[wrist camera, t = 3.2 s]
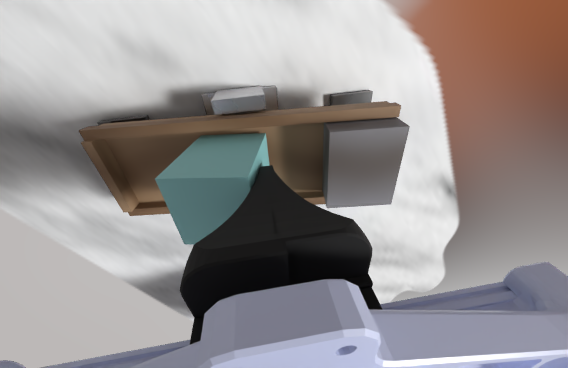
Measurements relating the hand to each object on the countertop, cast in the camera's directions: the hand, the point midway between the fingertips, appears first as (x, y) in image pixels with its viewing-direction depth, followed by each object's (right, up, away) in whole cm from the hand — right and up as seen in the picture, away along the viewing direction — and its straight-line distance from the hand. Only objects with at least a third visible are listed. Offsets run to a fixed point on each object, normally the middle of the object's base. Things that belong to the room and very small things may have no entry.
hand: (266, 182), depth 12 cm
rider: (-2, +1, +2) cm, 3 cm away
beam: (-1, +2, +4) cm, 4 cm away
